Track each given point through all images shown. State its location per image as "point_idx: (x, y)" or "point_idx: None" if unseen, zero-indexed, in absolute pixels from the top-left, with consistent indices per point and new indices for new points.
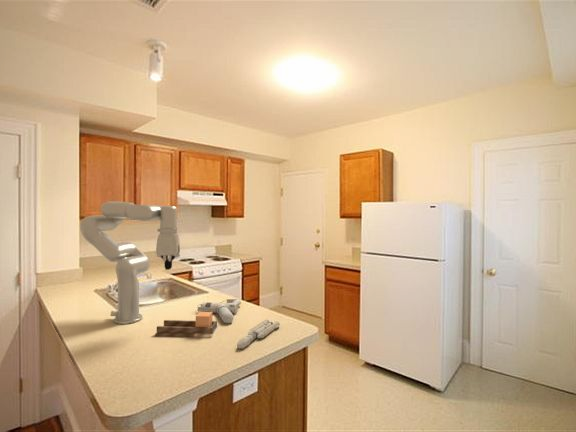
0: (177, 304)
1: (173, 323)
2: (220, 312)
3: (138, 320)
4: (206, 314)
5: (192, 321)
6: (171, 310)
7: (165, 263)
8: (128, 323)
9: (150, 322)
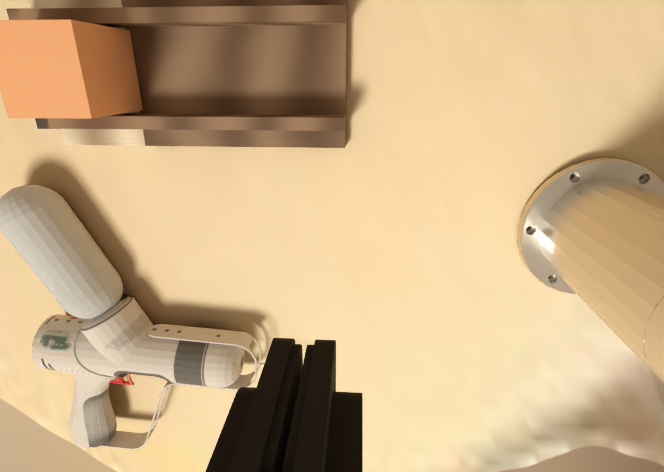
0: (402, 435)
1: (287, 116)
2: (83, 261)
3: (525, 208)
4: (18, 63)
5: (171, 116)
6: (402, 359)
7: (321, 429)
8: (569, 166)
9: (451, 194)
